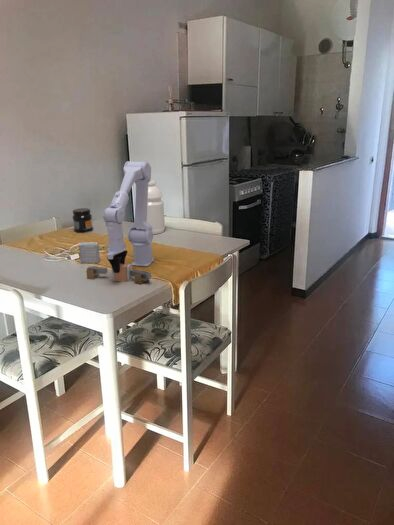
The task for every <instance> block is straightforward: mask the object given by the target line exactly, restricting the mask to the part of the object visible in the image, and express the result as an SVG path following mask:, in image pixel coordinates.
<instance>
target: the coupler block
mask: <svg viewBox="0 0 394 525" xmlns="http://www.w3.org/2000/svg"><path fill="white" fill-rule="evenodd" d="M131 264H132V263H124V264H120V271H119V273H114V271H113V269H112V266H111V265H110V266H111V275H112V281H116V282H117V281H120V282H130V281H131V280H132V279H133V276H130V271H131V270H133V268H132V265H131Z"/></svg>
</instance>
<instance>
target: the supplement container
mask: <svg viewBox="0 0 394 525" xmlns="http://www.w3.org/2000/svg"><path fill="white" fill-rule="evenodd" d="M92 217H93V215H92V214H91V209H90V208H87V207H81V208H75V209H73V210H72V221H73V231H75V232H76V233H81V234H83V233H89V232H91V231H93V230H94V226H93V225H94V224H93V219H92Z"/></svg>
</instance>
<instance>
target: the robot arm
mask: <svg viewBox="0 0 394 525" xmlns="http://www.w3.org/2000/svg"><path fill="white" fill-rule="evenodd" d="M122 170H123V175H124V176H123V178H122V180H121V181H122V182H121V185H120V188H119V190H118V191H116V192H115V193H114V195H113V198H112V200H111V202H110V204H109V207H107V208H105V209H104V210H103V216H102V218H103V220H104V222H105V226H106V228H107V238H108V246H109V247H107V248H106V251H107V254H106V260H108V262H109V264H110V266H112V268H111V270H112V269H113V271H114V273H119V271H120V264H126V263H125V262H126V257H127V255H128V250H127V243H125V242H124V229H123V228H124V227H123V222H124V220H125V217H126V216H125V215H126V214H125V213H126V207H127V204H128V202H129V200H130V197H129V195H128V194H129V193H130V191H131V189H132V187H133V185H134V184H135V203H134V205H135V206H134V207H135V210H134V221H133V223H131V224H130V225H129V229H128V232H127V240H128V241H129V243H130V244H131V245H132V250H133V261H132V262H131V263H130V264H131V266H134V267H135V266H141V267H149V266H150V265H151V264H152V262H154V261H155V258H154V257H153V245H152V242H153V240H154V234H153V232H152V226H151V225H150V224H148V223H147V202H148V183H149V182H150V181H151V180H152V166H151V164H150V163H149V162H148V161H130V160H127V161H126V162H125V163H124V164H123V168H122ZM139 228H143V229H139Z"/></svg>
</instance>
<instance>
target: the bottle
mask: <svg viewBox="0 0 394 525" xmlns="http://www.w3.org/2000/svg"><path fill="white" fill-rule="evenodd" d="M156 184H157V183H156V180H152V179H151V181H150V182H149V183H148V202H147V223H148V224H150V225H151V226H152V232H153V235H158V234H162V233H164V232H165V229H166V227H165V212H164V207H165V205H164V201H163V200H162V198H163V194H162V191H161V190H160V188H159V187H158V186H157V185H156ZM138 229H143V228H138Z"/></svg>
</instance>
